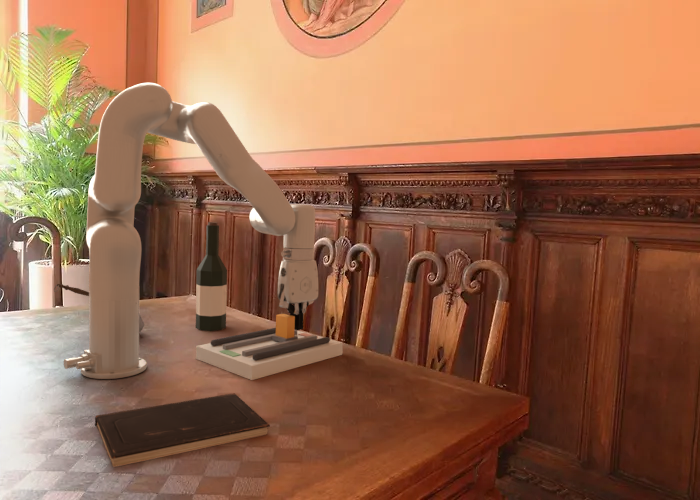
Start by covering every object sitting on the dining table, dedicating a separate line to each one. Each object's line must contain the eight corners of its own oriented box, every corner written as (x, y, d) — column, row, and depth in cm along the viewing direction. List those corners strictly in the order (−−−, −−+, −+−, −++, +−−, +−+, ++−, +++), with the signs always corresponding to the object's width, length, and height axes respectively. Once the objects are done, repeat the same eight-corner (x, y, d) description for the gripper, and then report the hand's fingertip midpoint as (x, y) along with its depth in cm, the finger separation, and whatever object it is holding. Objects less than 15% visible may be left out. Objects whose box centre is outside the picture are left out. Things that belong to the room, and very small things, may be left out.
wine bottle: (232, 327, 154) (234, 223, 151) (210, 332, 147) (212, 223, 144) (211, 323, 158) (213, 221, 156) (189, 327, 151) (190, 221, 149)
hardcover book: (269, 438, 85) (269, 424, 84) (111, 472, 72) (111, 456, 72) (233, 404, 98) (233, 392, 98) (95, 428, 86) (95, 414, 85)
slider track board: (251, 380, 110) (252, 361, 109) (195, 358, 123) (196, 341, 122) (342, 354, 131) (343, 338, 131) (286, 338, 144) (287, 324, 143)
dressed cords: (255, 361, 112) (255, 355, 112) (209, 345, 123) (209, 339, 123) (331, 342, 130) (331, 337, 130) (285, 330, 141) (285, 325, 141)
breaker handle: (285, 343, 126) (286, 318, 126) (271, 339, 130) (272, 315, 129) (297, 340, 129) (298, 316, 129) (284, 336, 133) (284, 312, 132)
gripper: (286, 258, 122) (284, 336, 124) (330, 255, 134) (328, 327, 135) (264, 255, 127) (262, 331, 129) (309, 252, 139) (306, 322, 140)
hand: (296, 328), depth 132 cm, fingers closed
